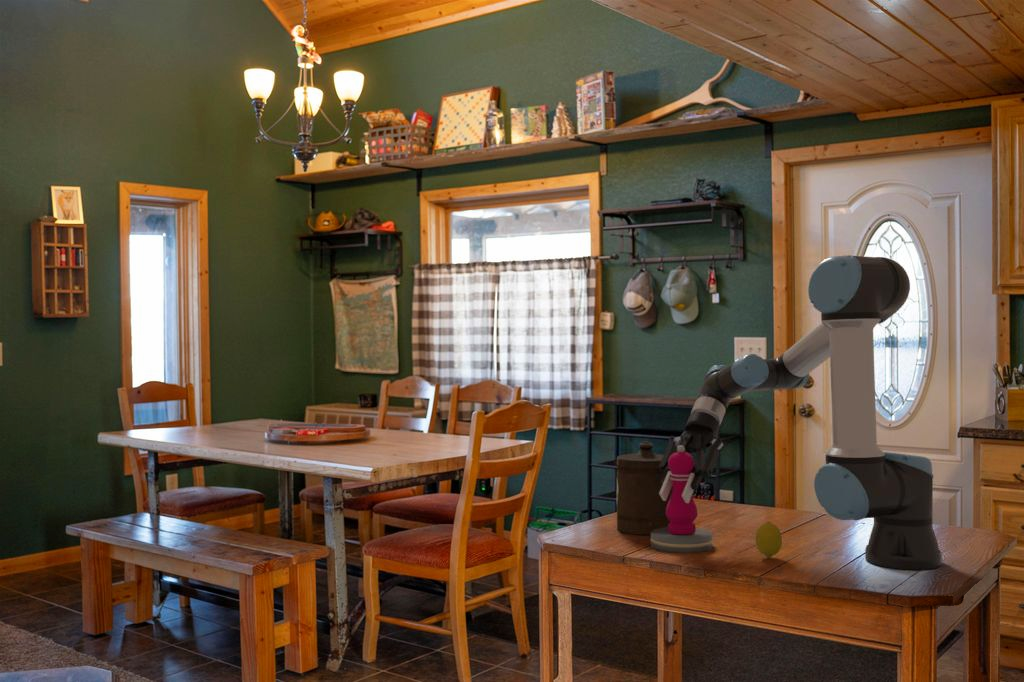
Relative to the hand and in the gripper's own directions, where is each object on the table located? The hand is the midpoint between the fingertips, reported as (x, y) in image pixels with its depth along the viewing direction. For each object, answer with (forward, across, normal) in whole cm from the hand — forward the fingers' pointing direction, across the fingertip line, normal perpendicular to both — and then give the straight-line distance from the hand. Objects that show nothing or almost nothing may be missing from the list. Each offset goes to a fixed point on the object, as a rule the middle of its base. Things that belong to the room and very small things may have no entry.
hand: (673, 498), depth 223 cm
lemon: (+6, -21, -11) cm, 24 cm away
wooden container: (-3, +16, -20) cm, 25 cm away
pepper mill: (+3, 0, -9) cm, 9 cm away
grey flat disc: (+6, 0, -11) cm, 12 cm away
